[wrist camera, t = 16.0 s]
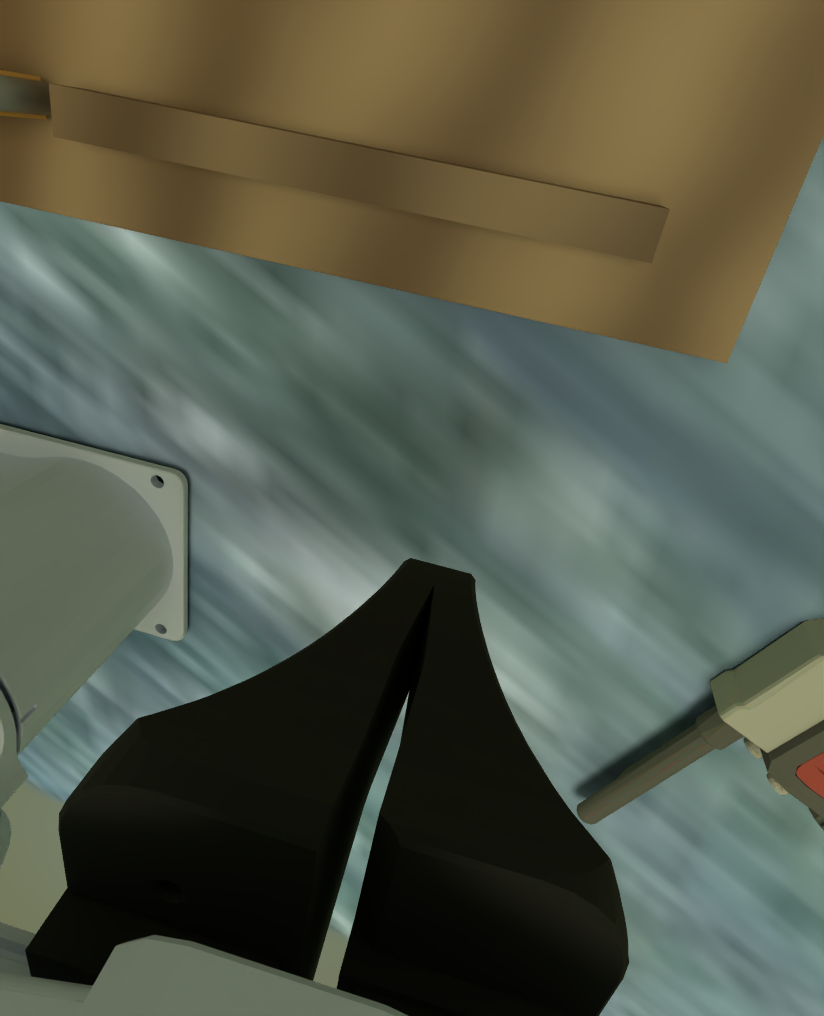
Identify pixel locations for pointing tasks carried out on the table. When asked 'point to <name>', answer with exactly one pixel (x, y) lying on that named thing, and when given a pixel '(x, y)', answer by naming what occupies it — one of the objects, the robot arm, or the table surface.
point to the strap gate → (24, 96)
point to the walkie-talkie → (748, 726)
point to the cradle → (441, 144)
